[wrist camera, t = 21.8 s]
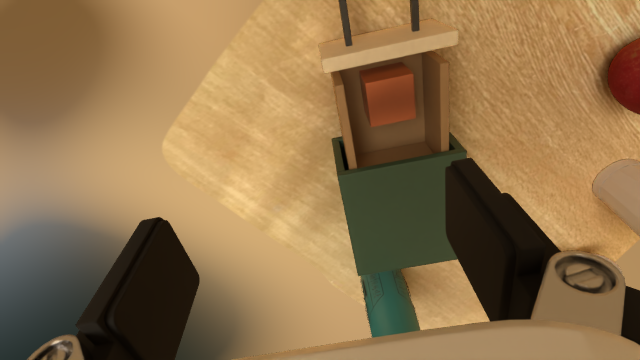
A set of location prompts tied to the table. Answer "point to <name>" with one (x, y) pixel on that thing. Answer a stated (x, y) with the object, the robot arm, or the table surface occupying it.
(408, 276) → the table surface
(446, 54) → the table surface
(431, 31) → the drawer
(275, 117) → the table surface
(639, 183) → the cup
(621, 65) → the apple
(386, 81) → the block
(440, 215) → the cabinet
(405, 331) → the beverage bottle
